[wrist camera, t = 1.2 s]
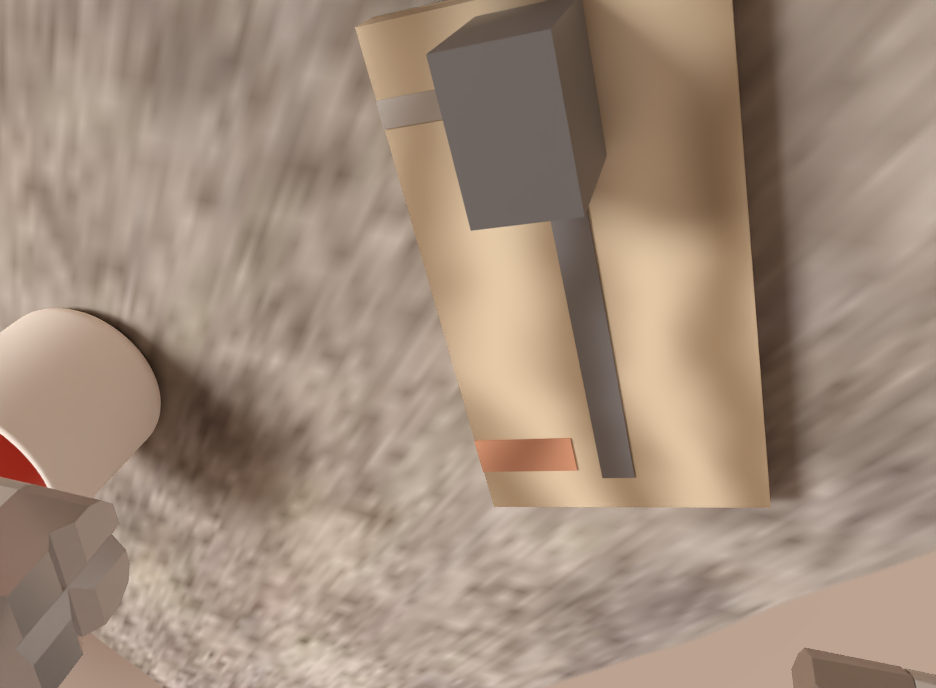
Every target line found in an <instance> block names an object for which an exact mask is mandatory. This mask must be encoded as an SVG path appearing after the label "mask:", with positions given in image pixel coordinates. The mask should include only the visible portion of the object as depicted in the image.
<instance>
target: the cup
mask: <svg viewBox="0 0 936 688" xmlns="http://www.w3.org/2000/svg"><path fill="white" fill-rule="evenodd" d="M160 408H161V398H160V391H159V387H158V384H157V380H156V378H155V375H154V373H153V371H152V369H151V367H150V365H149V364H148V362H147V361H146V359H145V358H144V356H143V355H142V354H141V352H140V351H139V350H138V349H137V348H136V346H135V345H134V344H133V343H132V342H131V341H130V340H129V339H128V338H127V337H125V336H124V335H123V334H122V333H121V332H119V331H118V330H117V329H115V328H114V327H112V326H111V325H109V324H108V323H106V322H104V321H103V320H101V319H99V318H97V317H94V316H92V315H90V314H87V313H84V312H80V311H76V310H72V309H66V308H48V309H42V310H37V311H34V312H32V313H29V314H27V315H25V316H23V317H22V318H20V319H19V320H17V321H16V322H14V323H13V324H12V325H10V326H9V327H7V328H6V329H4V330H3V331H2V332H0V477H3V478H8V479H12V480H16V481H21V482H25V483H30V484H35V485H39V486H43V487H47V488H52V489H56V490H60V491H64V492H68V493H72V494H76V495H81V496H85V497H89V498H92V497H93V496H94V495H95V494H96V493H97V492H98V491H99V490H100V489H101V488H102V487H103V486H104V485H105V484H106V482H107V481H108V480H109V479H110V478H111V477H112V476H113V475H114V474H115V473H116V472H117V471H118V470H119V469H120V468H121V467H122V465H123V464H124V463H125V462H126V461H127V460H128V459H129V458H130V457H131V456H132V455H133V454H134V453H135V452H136V451H137V449H138V448H139V447H140V446H141V445H142V444H143V443H144V442H145V441H146V440H147V439H148V438H149V437H150V435H151V434H152V432H153V431H154V429H155V427H156V425H157V423H158V420H159V416H160Z"/></svg>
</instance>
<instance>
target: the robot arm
mask: <svg viewBox="0 0 936 688" xmlns="http://www.w3.org/2000/svg"><path fill="white" fill-rule="evenodd" d="M118 525H119V521H118V518H117V515H116V512H115V509H114V506H113V504H111V503H108V502H104V501H101V500H97V499H93V498H89V497H85V496H81V495H76V494H72V493H68V492H64V491H60V490H56V489H52V488H47V487H43V486H39V485H35V484H30V483H25V482H21V481H16V480H12V479H8V478H3V477H0V688H58V687H59V685H60V684H61V683H62V682H63V680H64V679H65V678H66V676H67V675H68V674H69V672H70V671H71V670H72V668H73V667H74V665H75V664H76V663H77V662H78V660H79V659H80V658H81V656H82V655H83V636H85V635H87V634H89V633H90V632H92V631H94V630H96V629H98V628H100V627H102V626H103V625H105V624H106V623H107V622H108V620H109V619H110V617H111V616H112V615H113V613H114V612H115V610H116V609H117V608H118V606H119V605H120V602H121V600H122V597H123V595H124V592H125V589H126V587H127V584H128V581H129V560H128V556H127V552H126V549H125V548H124V547H123V546H122V545H121V544H120V543H119V542H118V541H117V539H116V538H115V537H114V536H113V535H112V533H113V532H114V530H115V529H116V528H117V526H118ZM792 677H793V686H794V688H936V675H934V674H929V673H925V672H920V671H915V670H910V669H903V668H901V667H900V666H894V665H889V664H884V663H879V662H874V661H869V660H864V659H859V658H854V657H849V656H844V655H839V654H834V653H828V652H824V651H819V650H814V649H809V648H804V649H803V650H802V651H801V652H799V653H798V655H797V657H796V660H795V662H794V665H793V667H792Z"/></svg>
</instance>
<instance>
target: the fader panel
mask: <svg viewBox="0 0 936 688" xmlns="http://www.w3.org/2000/svg"><path fill="white" fill-rule="evenodd" d="M544 1H548V0H447V1H443V2H438V3H434V4H429V5H425V6H421V7H416V8H412V9H408V10H403V11H399V12H394V13H390V14H386V15H381V16H377V17H373V18H371V19H369V20H368V21H366V22H364V23H362V24H360V25H359V26H357V27H355V28H356V32H357V35H358V39H359V42H360V45H361V49H362V52H363V56H364V59H365V63H366V66H367V70H368V73H369V77H370V80H371V83H372V87H373V90H374V94H375V97H376V104H377V108H378V111H379V115H380V118H381V122H382V125H383V128H384V130H385V132H386V135H387V139H388V142H389V145H390V149H391V152H392V156H393V159H394V163H395V166H396V170H397V173H398V177H399V180H400V183H401V187H402V190H403V194H404V197H405V201H406V204H407V208H408V211H409V214H410V218H411V221H412V225H413V228H414V232H415V235H416V239H417V242H418V246H419V249H420V252H421V256H422V259H423V263H424V266H425V270H426V273H427V277H428V280H429V283H430V287H431V290H432V294H433V297H434V301H435V304H436V308H437V311H438V314H439V318H440V321H441V325H442V328H443V332H444V335H445V339H446V342H447V346H448V349H449V352H450V356H451V359H452V363H453V366H454V370H455V373H456V377H457V380H458V383H459V387H460V390H461V394H462V397H463V401H464V404H465V408H466V411H467V415H468V418H469V421H470V425H471V428H472V432H473V435H474V439H475V445H476V448H477V452H478V455H479V459H480V462H481V466H482V469H483V472H484V473H485V477H486V480H487V483H488V487H489V490H490V494H491V497H492V501H493V504H494V507H771V505H770V488H769V473H768V460H767V447H766V434H765V420H764V407H763V394H762V381H761V368H760V355H759V342H758V328H757V315H756V302H755V289H754V276H753V263H752V250H751V236H750V223H749V210H748V197H747V184H746V171H745V158H744V145H743V131H742V118H741V105H740V92H739V79H738V66H737V53H736V39H735V26H734V13H733V0H582V3H583V9H584V15H585V22H586V28H587V34H588V40H589V47H590V53H591V59H592V65H593V72H594V78H595V84H596V91H597V97H598V103H599V109H600V116H601V122H602V128H603V134H604V141H605V147H606V153H607V157H606V160H605V162H604V165H603V168H602V171H601V173H600V176H599V179H598V182H597V184H596V187H595V190H594V193H593V195H592V198H591V201H590V204H589V206H588V209H587V212H586V215H585V217H580V218H572V219H564V220H556V221H547V222H539V223H531V224H523V225H515V226H506V227H498V228H490V229H482V230H473V231H471V230H470V226H469V222H468V218H467V214H466V210H465V206H464V202H463V198H462V194H461V191H460V187H459V183H458V179H457V175H456V171H455V167H454V163H453V159H452V155H451V151H450V147H449V143H448V139H447V135H446V131H445V128H444V124H443V120H442V116H441V112H440V108H439V104H438V100H437V96H436V92H435V88H434V84H433V80H432V76H431V72H430V68H429V65H428V61H427V57H426V54H427V53H428V52H430V51H431V50H432V49H434V48H435V47H436V46H438V45H439V44H440V43H441V42H443V41H444V40H445V39H447V38H448V37H449V36H450V35H452V34H453V33H454V32H456V31H457V30H458V29H459V28H461V27H462V26H463V25H465V24H466V23H467V22H469V21H470V20H471V19H472V18H474V17H475V16H480V15H484V14H489V13H493V12H498V11H503V10H507V9H512V8H516V7H521V6H525V5H530V4H535V3H539V2H544Z"/></svg>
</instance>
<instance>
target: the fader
mask: <svg viewBox="0 0 936 688" xmlns="http://www.w3.org/2000/svg"><path fill="white" fill-rule="evenodd" d="M426 57H427V61H428V65H429V68H430V72H431V76H432V80H433V84H434V88H435V92H436V96H437V100H438V104H439V108H440V112H441V116H442V120H443V124H444V128H445V131H446V135H447V139H448V143H449V147H450V151H451V155H452V159H453V163H454V167H455V171H456V175H457V179H458V183H459V187H460V191H461V194H462V198H463V202H464V206H465V210H466V214H467V218H468V222H469V226H470V230H471V231H473V230H482V229H490V228H498V227H506V226H515V225H523V224H531V223H539V222H547V221H556V220H564V219H572V218H580V217H585V215H586V212H587V209H588V206H589V204H590V201H591V198H592V195H593V193H594V190H595V187H596V184H597V182H598V179H599V176H600V173H601V171H602V168H603V165H604V162H605V160H606V157H607V153H606V147H605V141H604V134H603V128H602V122H601V116H600V109H599V103H598V97H597V91H596V84H595V78H594V72H593V65H592V59H591V53H590V47H589V40H588V34H587V28H586V22H585V15H584V9H583V3H582V0H548V1H544V2H539V3H535V4H530V5H525V6H521V7H516V8H512V9H507V10H503V11H498V12H493V13H489V14H484V15H480V16H475V17H474V18H472V19H471V20H470V21H469V22H467V23H466V24H465V25H463V26H462V27H461V28H459V29H458V30H457V31H456V32H454V33H453V34H452V35H450V36H449V37H448V38H447V39H445V40H444V41H443V42H441V43H440V44H439V45H438V46H436V47H435V48H434V49H432V50H431V51H430V52H428V53H427V54H426Z"/></svg>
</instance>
